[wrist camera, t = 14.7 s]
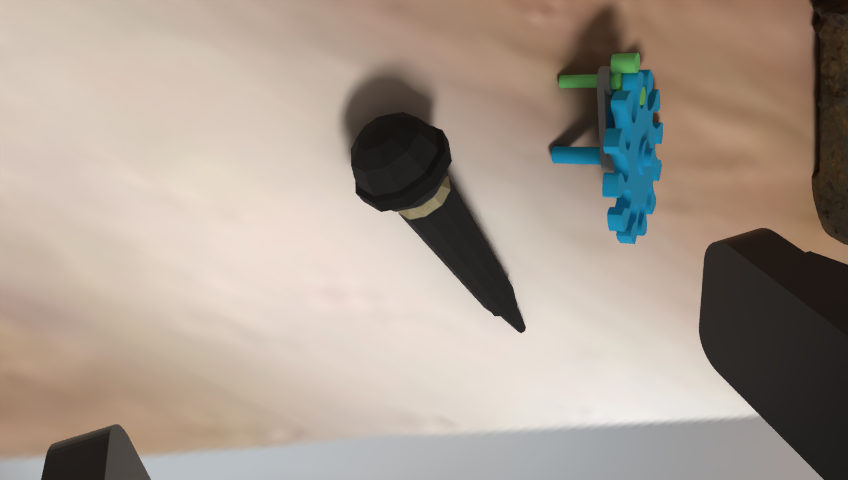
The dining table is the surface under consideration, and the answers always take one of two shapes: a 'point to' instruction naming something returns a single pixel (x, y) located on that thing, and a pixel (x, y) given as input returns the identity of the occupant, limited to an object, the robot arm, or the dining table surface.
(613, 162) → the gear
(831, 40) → the dark brown rod
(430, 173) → the microphone
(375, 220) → the dining table surface
